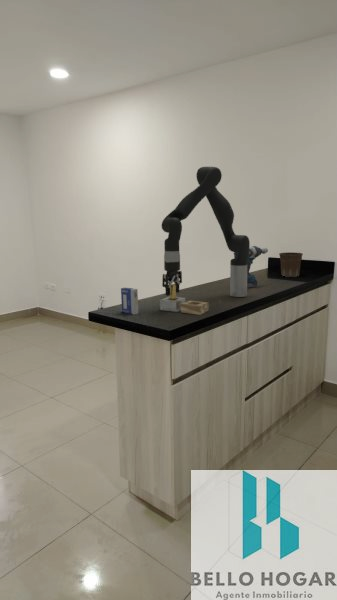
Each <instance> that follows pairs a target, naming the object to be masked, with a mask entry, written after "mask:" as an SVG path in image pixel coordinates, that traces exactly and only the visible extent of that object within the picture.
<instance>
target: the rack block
mask: <svg viewBox="0 0 337 600" xmlns="http://www.w3.org/2000/svg"><path fill="white" fill-rule="evenodd" d="M209 306H210V305H209V302H207V301H200V300H199V301H198V300H188V301H187V300H186V302H185V303H182V304H181V310H180V313H183V314H184V313H185V314H190V315H199V316H200V315H203V314H204V313H207V312H208V311H209V310H210V309H209Z"/></svg>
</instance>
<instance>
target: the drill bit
mask: <svg viewBox="0 0 337 600" xmlns="http://www.w3.org/2000/svg"><path fill="white" fill-rule="evenodd" d="M168 297H170V300H176V297H177V293H176V284H175V283H172V284H171V286H170V296H168Z"/></svg>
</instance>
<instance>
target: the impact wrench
mask: <svg viewBox="0 0 337 600" xmlns="http://www.w3.org/2000/svg"><path fill="white" fill-rule="evenodd" d="M267 253H268V247H262V248H261V247H258V246H256V245H253V246H252V245H251V246H250V247H249V259H248V264H247V289H252V288H253V287H254V288H256V287H258V280H257V279H256V275H254V274H250V270H251V267H252V264H253V263H254V262H253V261H254V260H256V258H259V256H261V255H262V254H263V255H265V254H267ZM233 255H234V256H233V257H234V258H236V257H237V256H238V252H233ZM234 258H233V259H234Z"/></svg>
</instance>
